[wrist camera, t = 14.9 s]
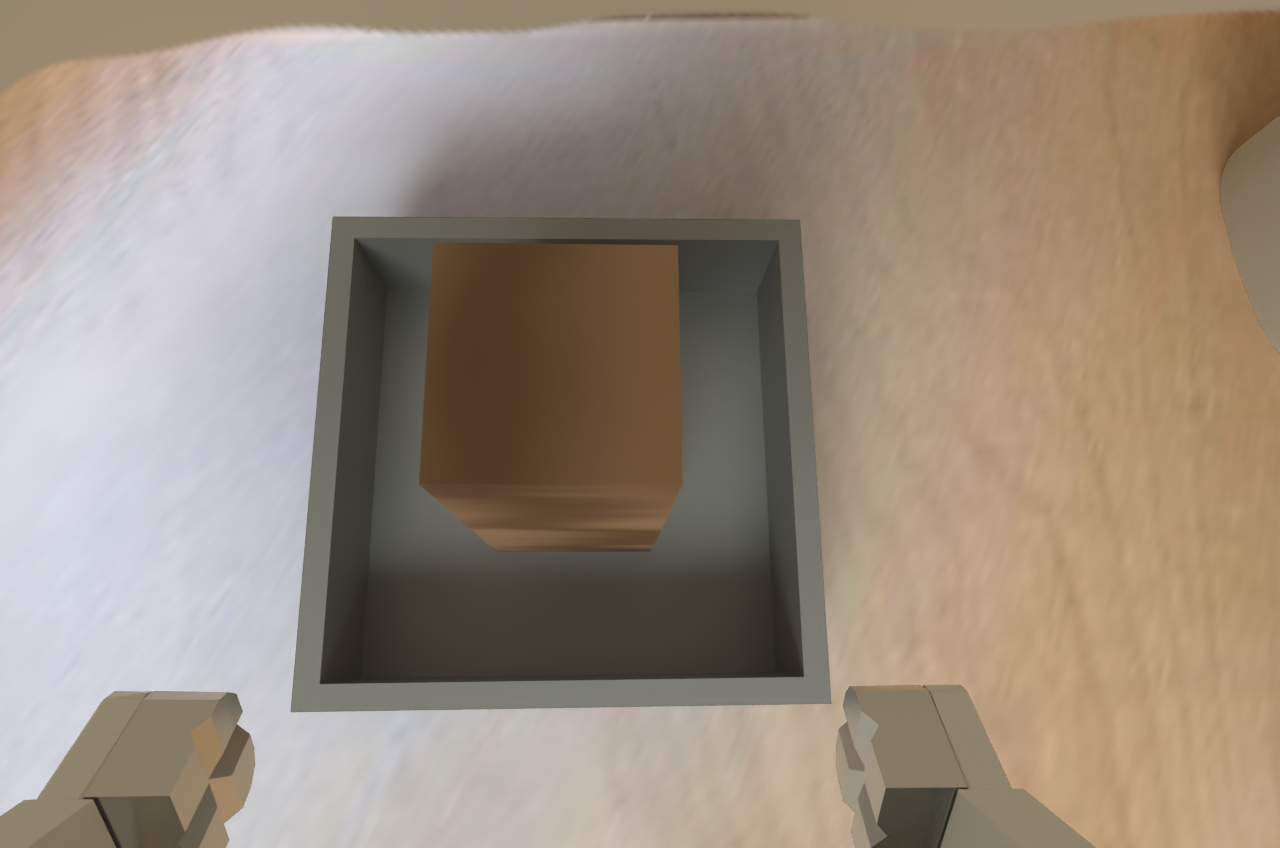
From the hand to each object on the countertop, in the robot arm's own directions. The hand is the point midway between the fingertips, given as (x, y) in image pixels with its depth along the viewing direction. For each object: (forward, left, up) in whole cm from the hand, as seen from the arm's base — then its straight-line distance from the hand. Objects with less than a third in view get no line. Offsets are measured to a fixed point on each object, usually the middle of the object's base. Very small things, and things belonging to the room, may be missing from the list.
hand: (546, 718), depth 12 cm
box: (0, -7, -17) cm, 18 cm away
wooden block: (0, -6, -16) cm, 17 cm away
